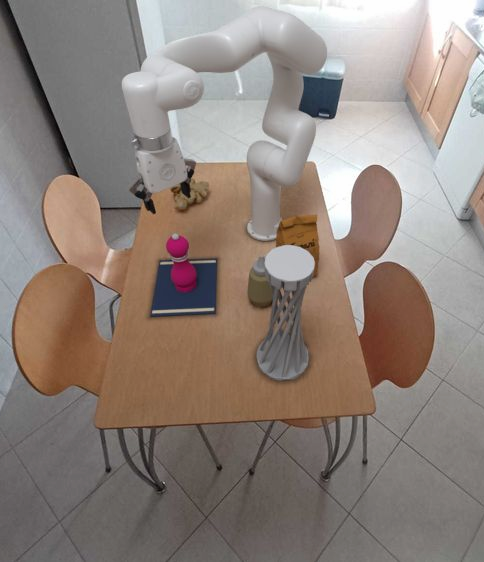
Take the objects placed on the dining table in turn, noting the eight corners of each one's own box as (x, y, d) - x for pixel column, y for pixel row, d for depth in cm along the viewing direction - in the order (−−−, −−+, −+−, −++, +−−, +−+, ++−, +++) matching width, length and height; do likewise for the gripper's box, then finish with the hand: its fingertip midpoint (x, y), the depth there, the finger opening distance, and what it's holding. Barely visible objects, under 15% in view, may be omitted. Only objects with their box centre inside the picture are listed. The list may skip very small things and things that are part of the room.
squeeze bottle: (279, 293, 116) (281, 249, 102) (269, 314, 111) (271, 270, 97) (253, 286, 117) (252, 242, 104) (243, 306, 112) (241, 262, 99)
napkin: (217, 259, 125) (217, 258, 124) (215, 314, 110) (215, 313, 110) (159, 261, 123) (159, 260, 123) (150, 317, 109) (150, 316, 108)
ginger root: (196, 177, 152) (195, 162, 145) (216, 205, 147) (217, 191, 140) (159, 191, 147) (156, 176, 140) (178, 221, 141) (176, 206, 134)
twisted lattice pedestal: (306, 335, 106) (321, 239, 80) (310, 380, 97) (328, 288, 71) (256, 335, 106) (255, 238, 80) (256, 381, 97) (253, 288, 71)
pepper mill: (196, 294, 114) (186, 244, 99) (171, 293, 114) (157, 243, 99) (199, 276, 119) (191, 225, 104) (176, 275, 119) (164, 224, 104)
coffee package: (319, 281, 120) (328, 225, 103) (280, 287, 117) (283, 231, 101) (310, 258, 126) (317, 203, 110) (272, 264, 124) (274, 208, 107)
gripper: (124, 159, 77) (145, 225, 90) (198, 131, 84) (207, 196, 97) (107, 144, 81) (129, 210, 93) (180, 118, 88) (191, 183, 101)
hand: (169, 203), depth 95 cm, fingers open, 9 cm apart
